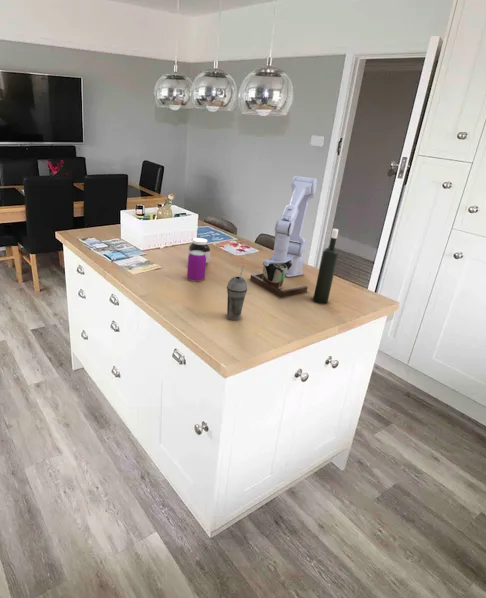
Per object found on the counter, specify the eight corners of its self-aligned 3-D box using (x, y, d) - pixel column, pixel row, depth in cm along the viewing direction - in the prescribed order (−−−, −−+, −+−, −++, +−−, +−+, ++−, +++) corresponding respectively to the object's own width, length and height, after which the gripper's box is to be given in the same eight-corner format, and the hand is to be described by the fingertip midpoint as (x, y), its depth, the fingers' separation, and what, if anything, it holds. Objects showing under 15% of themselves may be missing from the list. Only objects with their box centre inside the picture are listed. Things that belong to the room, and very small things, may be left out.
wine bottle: (312, 302, 168) (327, 229, 155) (314, 296, 173) (328, 226, 160) (326, 305, 166) (343, 231, 154) (328, 299, 171) (344, 228, 158)
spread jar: (205, 260, 205) (207, 237, 200) (213, 268, 195) (215, 244, 190) (182, 261, 201) (183, 237, 196) (189, 269, 191) (190, 245, 186)
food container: (290, 289, 177) (294, 267, 173) (280, 292, 174) (284, 269, 170) (269, 279, 186) (273, 258, 182) (259, 281, 183) (263, 260, 178)
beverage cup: (222, 312, 153) (227, 261, 145) (241, 313, 154) (248, 262, 146) (224, 321, 147) (231, 268, 138) (245, 322, 147) (252, 269, 139)
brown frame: (275, 275, 192) (276, 270, 191) (306, 292, 177) (307, 286, 176) (250, 279, 185) (250, 274, 184) (280, 297, 170) (281, 292, 168)
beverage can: (188, 274, 185) (189, 248, 180) (205, 276, 185) (207, 250, 180) (185, 281, 178) (187, 254, 173) (203, 283, 178) (205, 256, 173)
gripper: (287, 244, 180) (282, 273, 185) (261, 247, 172) (256, 278, 178) (298, 249, 174) (293, 279, 180) (272, 253, 167) (267, 284, 173)
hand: (275, 279), depth 179 cm, fingers closed on food container, 6 cm apart
